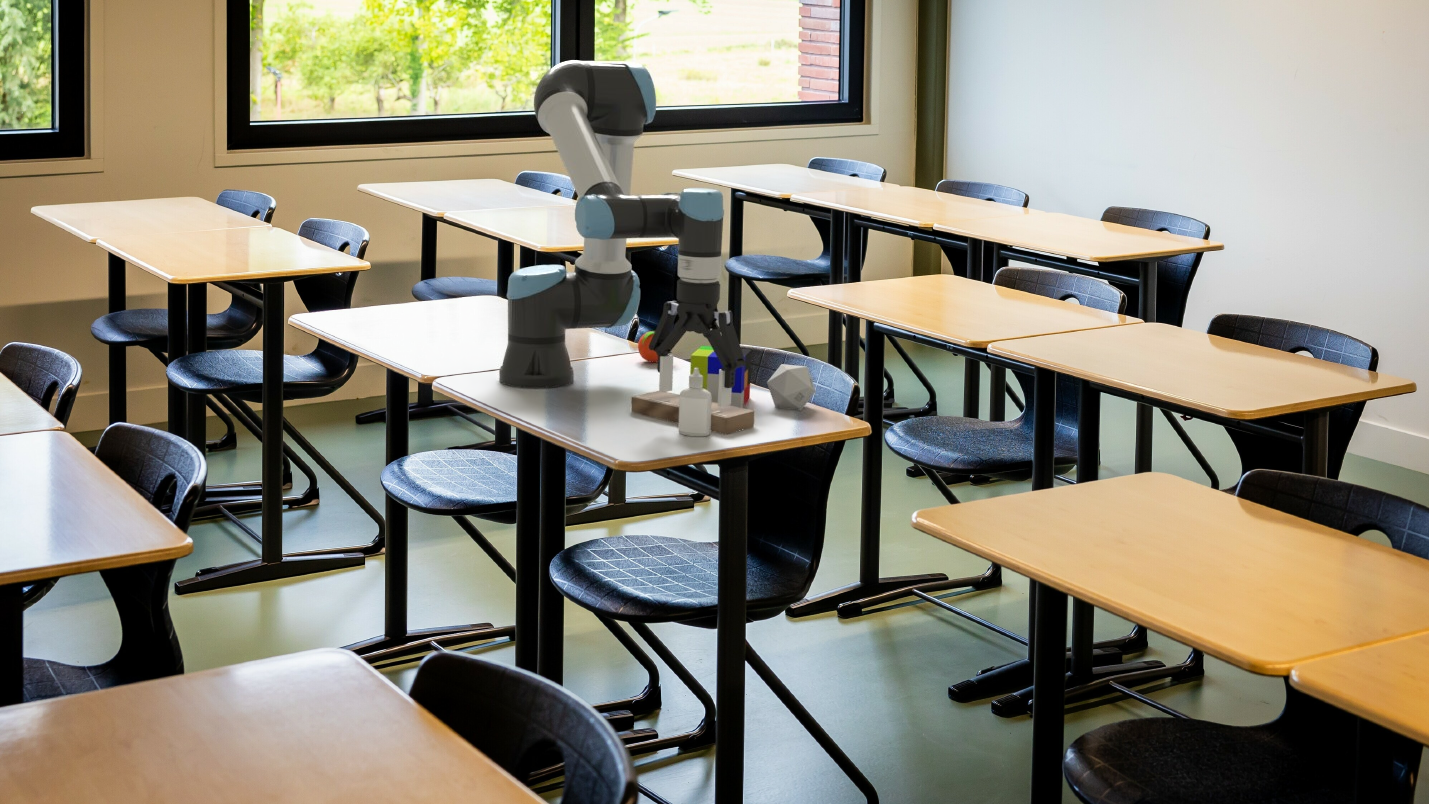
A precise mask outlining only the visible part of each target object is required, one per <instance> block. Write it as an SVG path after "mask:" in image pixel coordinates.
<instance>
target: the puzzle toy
mask: <svg viewBox="0 0 1429 804" xmlns="http://www.w3.org/2000/svg"><path fill="white" fill-rule="evenodd" d="M741 350H742V353H743V356H744V359H745V362H746V364H745V366H742V367H738V368H736V370H735V385H734V387H732V390H731V404H730V406H734V407H739V408H743V407H744V406H745V405H746V404H747V403H748V401H749V400H750V398H751V397H750V396H751V394H750V393H751V370H752V349H750V348H741ZM694 368H698V370H699V374H700V375H702V376H703V387H702V388H703V389H705V390H707V391H709V392H710V393H711V397H712V398H711V402H716V403H718V388H719V369H722V368H723V366H722V365H721V363H720V361H719V359H718V357H717V355H716V354H715V352H714V350H713V348H712V346H705V345H702V346H699V348H698V349H697V350H695V351H694V352H693V353H692V354H691V355H690V371H689V372H690V374H689V376H690V375H692V374H693V372H694Z"/></svg>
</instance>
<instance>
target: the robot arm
mask: <svg viewBox="0 0 1429 804" xmlns="http://www.w3.org/2000/svg"><path fill="white" fill-rule="evenodd" d="M533 96H534V97H533V108H534V110H533V111H534V114H535V117H536V120H537V121H538V124H539V126H540V128H541V129H542V130H543V132H546V133H547V134H549V136H550V137H551V139H552V142H553V144H554V146H555V148H556V150H557V153H558V154H559V157H560V159H561V161H562V164H563V166H564V168H565V170H566V172H567V174H568V177H569V178H570V181H571V184H572V185H573V189H575V192H576V195H577V196H578V199H577V202H576V204H575V208H574V221H575V223H576V224H575V225H576V230H577V232H578V235H580V236H581V237H582V238H583V248H582V249H583V252H582V254H581V255H580V256H579V257H577V258H576V259H575V261H574V271H568V270H567V269H566V266H564V265H561V264H541V265H540V264H539V265H533V266H528V267H522V268H519V269H517V270H515V271H513V272H512V273H511V274H510V276H509V277H508V281H507V283H508V284H507V293H506V298H507V346H506V350H505V352H504V356H503V360H502V365H501V366H500V368H499V372H498V373H499V375H498V376H499V377H498V379H499V382H500V383H501V384H504V385H507V386H511V387H516V388H529V389H545V388H558V387H565V386H567V385H570V384H572V383H573V382H574V377H575V371H574V368H573V366H572V364H571V359H570V356H569V351H568V349H567V346H566V345H567V344H566V330H574V329H575V330H577V329H595V328H596V329H597V328H599V329H600V328H605V329H610V328H615V327H622V326H623V327H624V326H626V325H628V324H629V323H630V322H631V321H633V319H634V317H635V316H636V314H637V311H638V309H639V306H640V300H641V288H640V284H641V283H640V278H639V277H638V274H637V273H636V272H635V271H634V270H633V269H632V264H631V262H630V261H629V260H628V259H627V258H626V249H627V248H626V247H627V239H659V238H660V239H661V238H662V239H664V238H666V239H667V238H668V239H669V238H670V239H673V238H674V239H677V240H678V248H677V253H678V255H677V276H678V277H679V278H678V280H677V281H676V300H672V301H665V302H664V303H663V310H662V315H661V316H660V318H659V322H658V324H657V326H656V328H655V333H654V335H653V337H652V339H651V342H650V344H649V349H650V350H653V351H655V352H656V354H657V355H658V362H657V363H656V365H657V367H656V368H657V369H656V370H657V373H659V384H658V385H659V386H658V389H659V390H658V391H659V392H661V393H663V392H671V391H673V380H674V379H673V378H674V354H672V353H673V352H672V350H673V349H674V348H675V346H676V345H677V344H678V342H679V341H681V339H682V337H684V335H685V334H686V332H694V333H696V334H699V335H702V336H703V337H704V338H706V339H707V341H708V343H709V344H710V347H712V348H713V350H714V352H715V354H716V355H717V357H718V359H719V361H720V363H721V365H722V366H723V368H722V369H719V388H718V406H720V407H722V406H726V405H730V404H731V390H732V387H734V385H735V370H736V368H738V367H742V366H745V364H746V362H745V359H744V356H743V353H742V350H741V349H742V348H741V344H740V341H739V338H738V334H737V333H736V329H735V326H734V317H733V316H734V315H733V312H732V311H731V310H727V311H719V310H718V305H719V303H720V300H721V282H720V281H719V280H718V279H720V278H721V277H722V247H723V229H724V228H723V226H724V216H725V210H724V195H723V193H722V192H721V191H720V190H718V189H715V188H714V189H712V188H704V187H703V188H702V187H688V188H684V189H683V190H681V192H680V193H678V192H664V193H661V194H646V195H645V194H643V195H641V194H632V195H631V187H632V177H633V176H632V175H633V173H632V172H633V164H634V163H633V161H634V151H635V149H634V148H635V143H636V141H637V140H638V139H640V138H641V137H642V136H643V132H644V125H648V124H650V123H652V122H653V120H654V118H655V115H656V111H657V110H656V109H657V96H656V88H655V84H654V81H653V78H652V75H651V74H650V72H649V71H648V69H647V68H646V67H645V66H644V65H643V64H640V63H636V62H629V61H616V60H615V61H614V60H613V61H611V60H609V61H608V60H603V61H602V60H601V61H600V60H597V61H596V60H595V61H594V60H577V59H576V60H575V59H571V60H566V61H562V62H560V63H558V64H556V65H554V66H553V67H551V68H550V69H549V70H548V71H546V72H545V73H544V74H543V76H542V78H541V79H540V81H539V82H538V83H537V86H536V89H535V92H534V95H533ZM677 315H678V317H679V318H678V320H677V321H676V322H675V323H674V321H675V320H676V317H677ZM673 324H674V325H673ZM672 327H673V329H672V330H671V328H672Z"/></svg>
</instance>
